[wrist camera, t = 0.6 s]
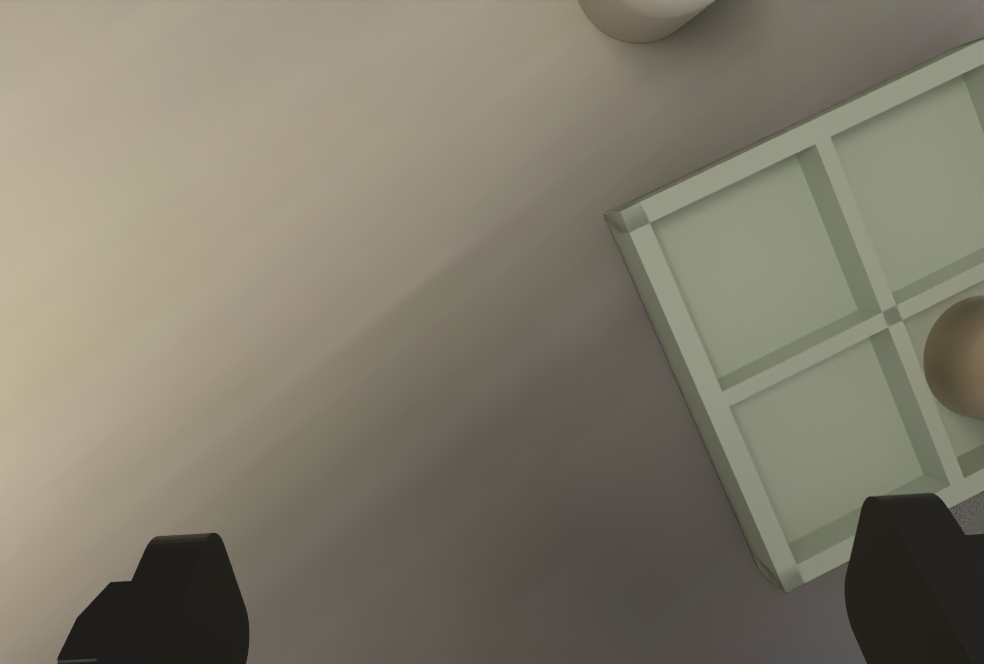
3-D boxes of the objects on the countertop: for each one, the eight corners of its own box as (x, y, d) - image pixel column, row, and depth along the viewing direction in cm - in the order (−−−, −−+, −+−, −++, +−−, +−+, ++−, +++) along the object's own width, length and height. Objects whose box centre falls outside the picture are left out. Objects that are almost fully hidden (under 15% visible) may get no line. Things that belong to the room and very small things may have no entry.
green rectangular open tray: (603, 214, 31) (620, 211, 29) (961, 45, 32) (1001, 30, 30) (759, 570, 33) (785, 593, 31) (1090, 400, 35) (1137, 410, 32)
